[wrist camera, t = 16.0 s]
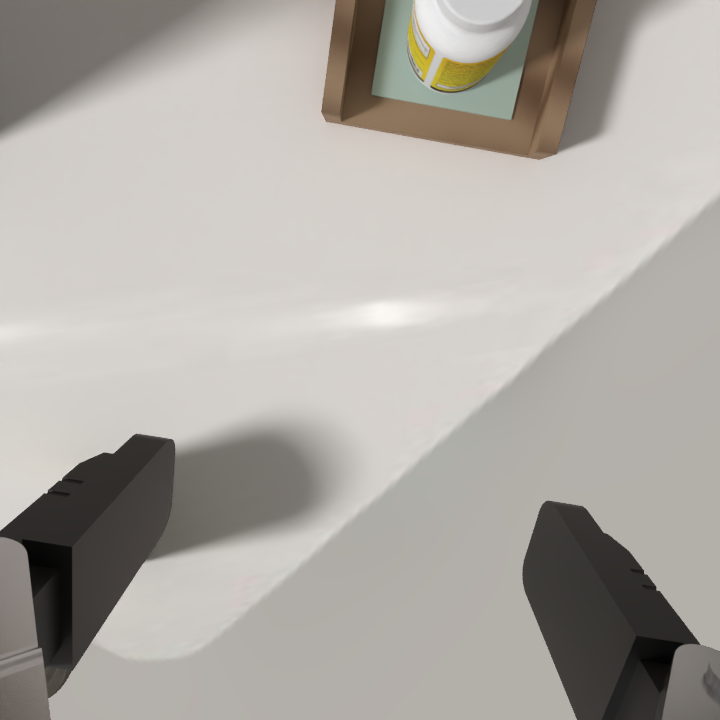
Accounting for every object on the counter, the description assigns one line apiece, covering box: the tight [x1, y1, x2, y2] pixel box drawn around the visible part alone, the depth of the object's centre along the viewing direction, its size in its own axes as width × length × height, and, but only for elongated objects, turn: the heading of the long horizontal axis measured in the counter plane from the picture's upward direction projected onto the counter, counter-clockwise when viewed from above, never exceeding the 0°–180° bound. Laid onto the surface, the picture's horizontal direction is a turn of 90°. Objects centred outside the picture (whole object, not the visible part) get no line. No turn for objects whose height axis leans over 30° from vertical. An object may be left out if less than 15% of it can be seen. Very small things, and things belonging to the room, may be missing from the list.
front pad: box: [371, 0, 539, 120], centre depth 33 cm, size 8×10×1 cm
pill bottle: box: [407, 0, 532, 95], centre depth 28 cm, size 6×6×11 cm
